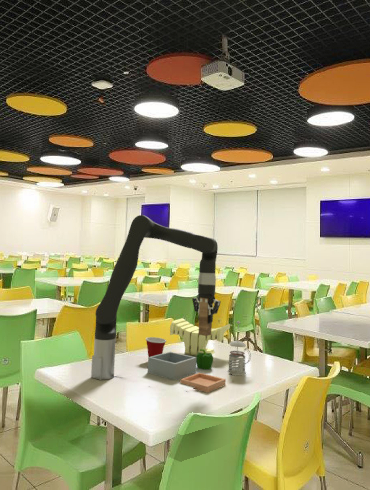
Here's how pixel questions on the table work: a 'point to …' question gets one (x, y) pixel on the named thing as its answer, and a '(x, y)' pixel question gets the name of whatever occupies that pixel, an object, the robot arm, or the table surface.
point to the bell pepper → (204, 360)
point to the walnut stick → (204, 319)
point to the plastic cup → (155, 346)
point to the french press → (234, 357)
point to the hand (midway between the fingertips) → (205, 322)
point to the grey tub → (172, 365)
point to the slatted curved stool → (195, 336)
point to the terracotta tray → (203, 382)
